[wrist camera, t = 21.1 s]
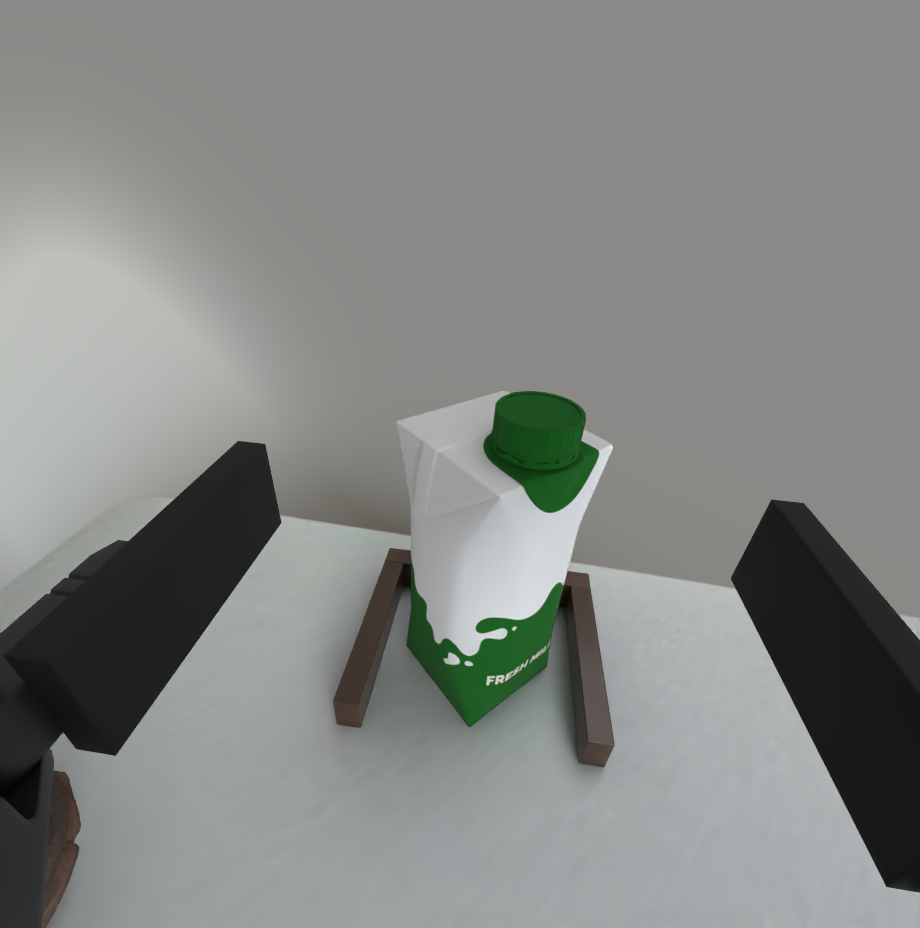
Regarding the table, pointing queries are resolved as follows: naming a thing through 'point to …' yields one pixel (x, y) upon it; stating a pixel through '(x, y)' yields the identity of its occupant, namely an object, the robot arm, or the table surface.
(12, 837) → the robot arm
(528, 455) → the white and green carton
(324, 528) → the table surface
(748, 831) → the table surface
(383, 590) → the bay
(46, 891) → the broken clay pot
